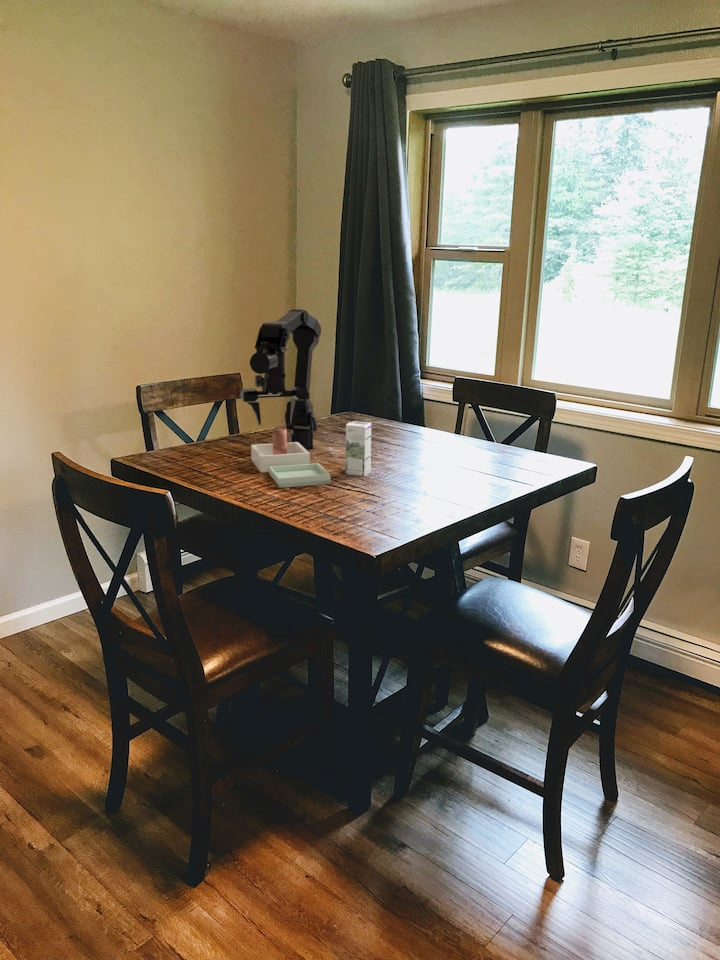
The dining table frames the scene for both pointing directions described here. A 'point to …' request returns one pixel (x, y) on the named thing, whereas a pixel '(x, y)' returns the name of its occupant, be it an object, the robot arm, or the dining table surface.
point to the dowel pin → (279, 441)
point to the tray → (299, 475)
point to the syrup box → (358, 448)
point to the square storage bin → (278, 456)
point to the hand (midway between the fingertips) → (275, 424)
